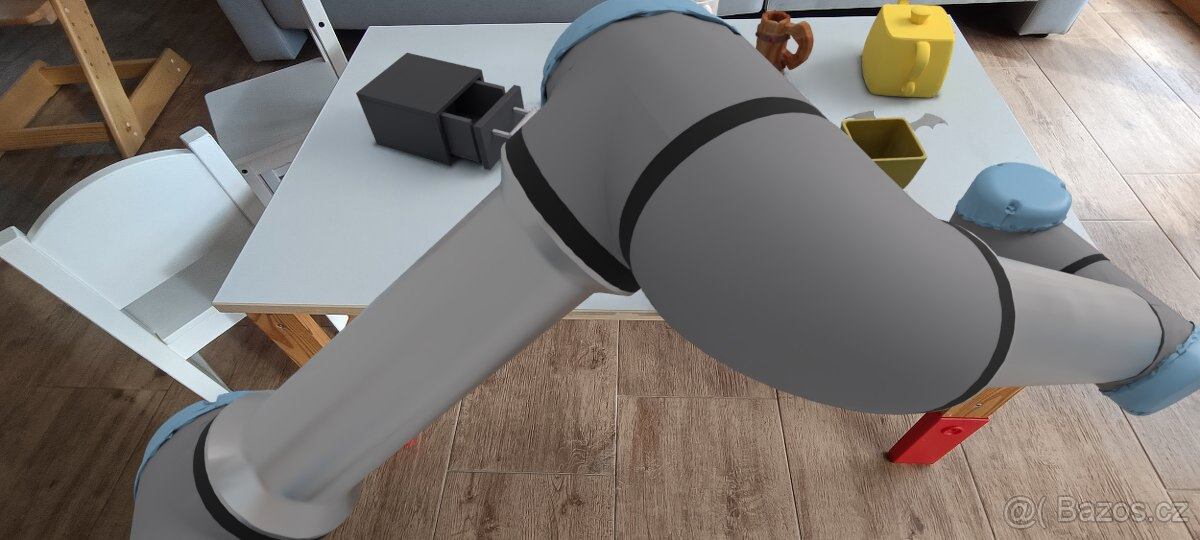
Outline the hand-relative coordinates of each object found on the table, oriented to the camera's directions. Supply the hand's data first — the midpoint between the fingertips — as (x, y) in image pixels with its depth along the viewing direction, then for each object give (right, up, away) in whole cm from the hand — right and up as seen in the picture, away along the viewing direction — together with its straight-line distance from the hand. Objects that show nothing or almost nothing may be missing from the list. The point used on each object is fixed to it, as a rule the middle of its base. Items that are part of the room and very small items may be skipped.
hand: (674, 215), depth 72 cm
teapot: (+43, +28, +32) cm, 60 cm away
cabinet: (-36, +16, +27) cm, 48 cm away
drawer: (-27, +14, +23) cm, 38 cm away
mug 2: (+22, +27, +33) cm, 48 cm away
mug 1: (+8, +35, +40) cm, 54 cm away
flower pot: (+29, +5, +13) cm, 32 cm away
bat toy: (+36, +14, +20) cm, 43 cm away
